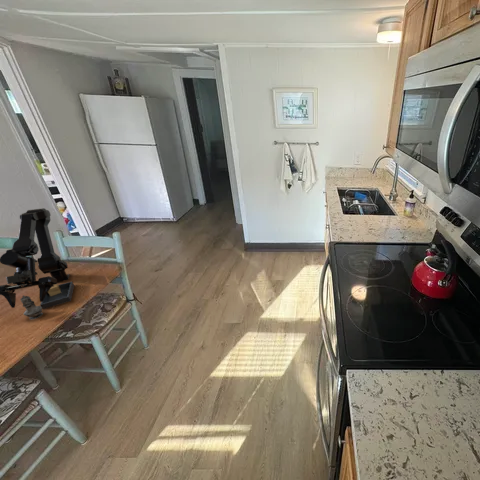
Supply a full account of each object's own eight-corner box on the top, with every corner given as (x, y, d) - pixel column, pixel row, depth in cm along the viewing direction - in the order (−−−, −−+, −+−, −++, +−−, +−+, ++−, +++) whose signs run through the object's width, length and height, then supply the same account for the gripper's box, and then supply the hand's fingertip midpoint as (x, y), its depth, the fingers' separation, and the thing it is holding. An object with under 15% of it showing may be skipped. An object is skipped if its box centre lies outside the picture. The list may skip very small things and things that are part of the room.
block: (50, 292, 133) (46, 286, 131) (60, 289, 135) (57, 283, 134) (50, 296, 130) (46, 290, 128) (61, 292, 133) (57, 286, 131)
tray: (49, 292, 134) (46, 288, 132) (74, 286, 139) (72, 281, 137) (43, 309, 123) (39, 304, 121) (71, 301, 128) (68, 296, 126)
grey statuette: (34, 322, 116) (20, 300, 110) (24, 320, 117) (9, 298, 111) (49, 313, 121) (36, 292, 115) (39, 311, 122) (25, 290, 116)
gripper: (-19, 271, 108) (-19, 309, 104) (41, 260, 115) (43, 295, 111) (2, 277, 118) (3, 311, 114) (56, 266, 125) (59, 299, 121)
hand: (27, 304), depth 115 cm, fingers open, 9 cm apart
